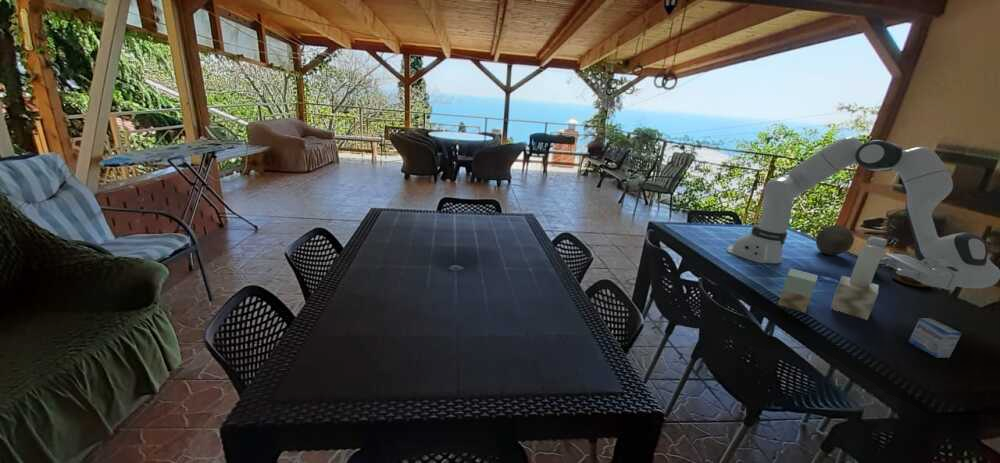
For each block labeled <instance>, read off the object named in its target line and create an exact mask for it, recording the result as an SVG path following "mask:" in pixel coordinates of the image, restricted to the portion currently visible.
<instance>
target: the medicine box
mask: <svg viewBox="0 0 1000 463" xmlns="http://www.w3.org/2000/svg"><path fill="white" fill-rule="evenodd" d="M962 335H963V333H962V332H960V331H958V330H956V329H954V328H952V327H950V326H948V325H947V324H943V323H941V322H939V321H937V320H935V319H933V318H929V317H927V318H925V317H924V318H923V317H922V318H919V319H918V320H917V323H916V325H915V327H914V330H913V331H912V333H911V335H910V337H909V338H908V343H909V344H911V345H912V344H913V346H915V347H916V348H917V349H919V350H922V351H924V352H926V353H927V354H929V355H931V356H933V357H935V358H936V359H938V358H941V359H942V358H947V359H949V358H950V357H951V355H952V353H953V351H954V349H955V348H956V346H957V343H958V341H959V340H960V337H961V336H962Z"/></svg>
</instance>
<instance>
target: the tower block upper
mask: <svg viewBox="0 0 1000 463" xmlns="http://www.w3.org/2000/svg"><path fill="white" fill-rule="evenodd" d="M785 278H786V279H785V281H784V284H783V287H782V290H785V291H788V292H791V293H795V294H798V295H802V296H805V297H808V298H812V296H813V294H814V289H815V287H816V284H817V282H818V278H819V275H817V274H815V273H814V274H813V273H810V272H808V271H807V272H806V271H803V270H799V269H795V268H792V267H791V268H790V269H789V271H788V273H787V275H786V277H785ZM811 295H812V296H811Z"/></svg>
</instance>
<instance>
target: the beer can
mask: <svg viewBox="0 0 1000 463" xmlns="http://www.w3.org/2000/svg"><path fill="white" fill-rule="evenodd" d="M866 244H870V245H875V246H879V247H882V248H884V250H885V249H886V246H887V244H888V240H887V239H886V238H883V237H881V236H880V237H879V236H874V235H872V236H870V237H869V238H868V239H867V242H866ZM878 266H879V265H878ZM878 266H877V268H878Z"/></svg>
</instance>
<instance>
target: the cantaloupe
mask: <svg viewBox="0 0 1000 463" xmlns="http://www.w3.org/2000/svg"><path fill="white" fill-rule="evenodd" d="M815 240H816V241H815V244H816V246H817V249H818V250H819V252H821V253H823V254H824V255H829V256H838V255H841V254H843V253H846V252H847V251H849V250H850V249H851V248H852V246H853V245H854V242H855V238H854V234H853V231H852V230H851V229H849V228H848V227H846V226H843V225H839V224H837V225H835V224H831V225H828V226H825V227H824V228H823V229H821V230H820V231H819V232H818V233H817V236H816V239H815Z"/></svg>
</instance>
